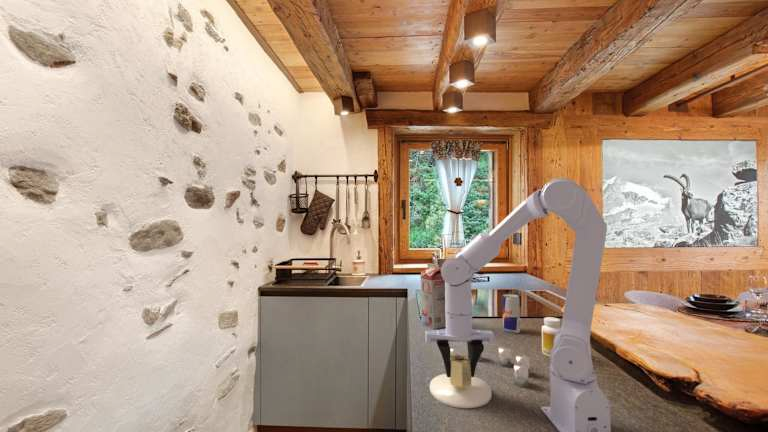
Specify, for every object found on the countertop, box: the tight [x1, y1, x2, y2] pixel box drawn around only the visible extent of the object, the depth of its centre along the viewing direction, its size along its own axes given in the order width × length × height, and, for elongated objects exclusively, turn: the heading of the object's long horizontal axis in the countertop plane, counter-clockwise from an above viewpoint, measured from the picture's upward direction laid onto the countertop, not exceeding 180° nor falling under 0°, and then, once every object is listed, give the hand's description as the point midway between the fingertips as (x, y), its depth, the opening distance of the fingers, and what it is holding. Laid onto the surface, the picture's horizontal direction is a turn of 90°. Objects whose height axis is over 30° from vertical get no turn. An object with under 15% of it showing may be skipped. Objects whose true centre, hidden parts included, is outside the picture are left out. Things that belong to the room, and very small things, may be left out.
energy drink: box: [501, 293, 521, 335], centre depth 106 cm, size 5×5×12 cm
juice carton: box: [420, 262, 446, 330], centre depth 113 cm, size 7×7×22 cm
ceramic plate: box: [429, 373, 493, 409], centre depth 68 cm, size 13×13×1 cm
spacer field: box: [449, 345, 531, 388], centre depth 77 cm, size 16×18×4 cm
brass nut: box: [448, 353, 471, 388], centre depth 68 cm, size 5×4×5 cm
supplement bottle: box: [541, 316, 561, 358], centre depth 86 cm, size 5×5×10 cm
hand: (459, 375), depth 68 cm, fingers closed on brass nut, 4 cm apart
